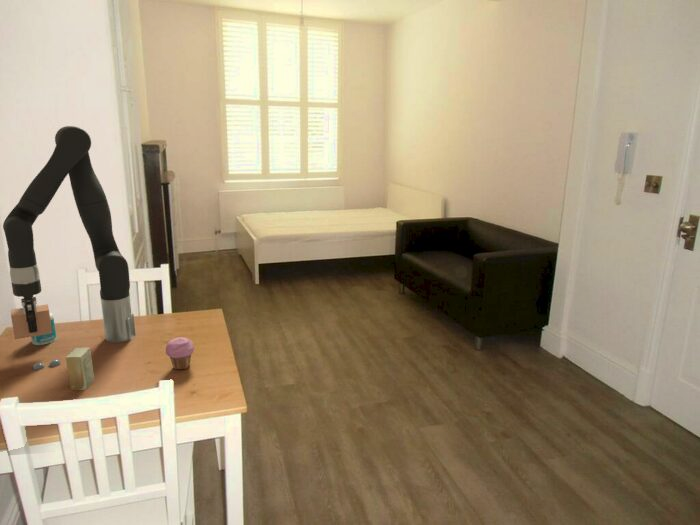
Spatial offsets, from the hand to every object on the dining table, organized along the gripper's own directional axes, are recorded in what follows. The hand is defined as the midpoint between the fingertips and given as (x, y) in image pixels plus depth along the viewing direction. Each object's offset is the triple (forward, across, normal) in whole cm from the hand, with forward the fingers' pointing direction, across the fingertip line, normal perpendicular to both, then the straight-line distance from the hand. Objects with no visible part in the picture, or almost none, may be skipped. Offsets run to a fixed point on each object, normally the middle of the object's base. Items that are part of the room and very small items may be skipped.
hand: (33, 328), depth 153 cm
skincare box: (+11, +28, +10) cm, 32 cm away
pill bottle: (+11, -12, +2) cm, 17 cm away
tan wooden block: (+2, 0, 0) cm, 2 cm away
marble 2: (+10, +10, +4) cm, 14 cm away
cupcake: (+11, +29, +39) cm, 49 cm away
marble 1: (+10, +10, 0) cm, 14 cm away
